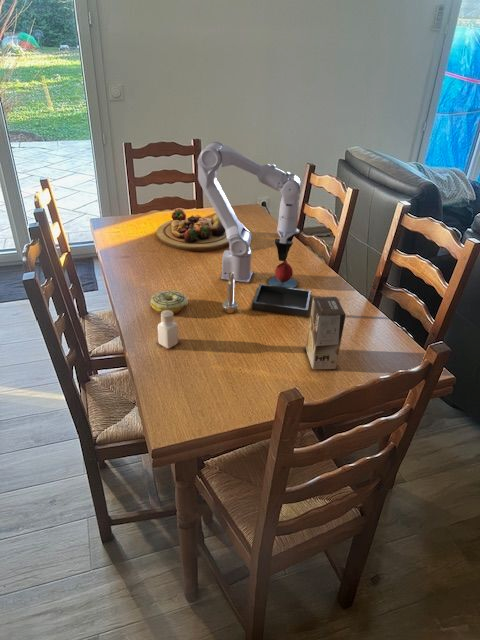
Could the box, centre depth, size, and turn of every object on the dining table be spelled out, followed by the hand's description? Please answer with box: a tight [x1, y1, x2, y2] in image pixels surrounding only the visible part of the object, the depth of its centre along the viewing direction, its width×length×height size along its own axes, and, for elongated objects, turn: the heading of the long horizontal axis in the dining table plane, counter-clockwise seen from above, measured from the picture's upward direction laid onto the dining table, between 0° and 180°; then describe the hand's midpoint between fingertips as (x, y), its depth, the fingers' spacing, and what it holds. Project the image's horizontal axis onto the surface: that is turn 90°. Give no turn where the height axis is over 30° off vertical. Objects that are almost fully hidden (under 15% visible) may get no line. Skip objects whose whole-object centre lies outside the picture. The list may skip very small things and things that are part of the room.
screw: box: [221, 272, 239, 314], centre depth 136 cm, size 13×5×5 cm
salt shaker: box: [157, 310, 179, 349], centre depth 122 cm, size 4×4×10 cm
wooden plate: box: [155, 208, 229, 252], centre depth 186 cm, size 32×32×8 cm
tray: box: [251, 283, 312, 318], centre depth 145 cm, size 17×13×2 cm
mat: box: [267, 275, 298, 289], centre depth 156 cm, size 10×10×1 cm
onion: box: [274, 259, 294, 283], centre depth 154 cm, size 6×6×8 cm
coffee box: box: [305, 296, 347, 370], centre depth 117 cm, size 9×6×16 cm
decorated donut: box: [150, 290, 189, 315], centre depth 139 cm, size 10×11×4 cm
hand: (283, 255), depth 153 cm, fingers open, 7 cm apart
